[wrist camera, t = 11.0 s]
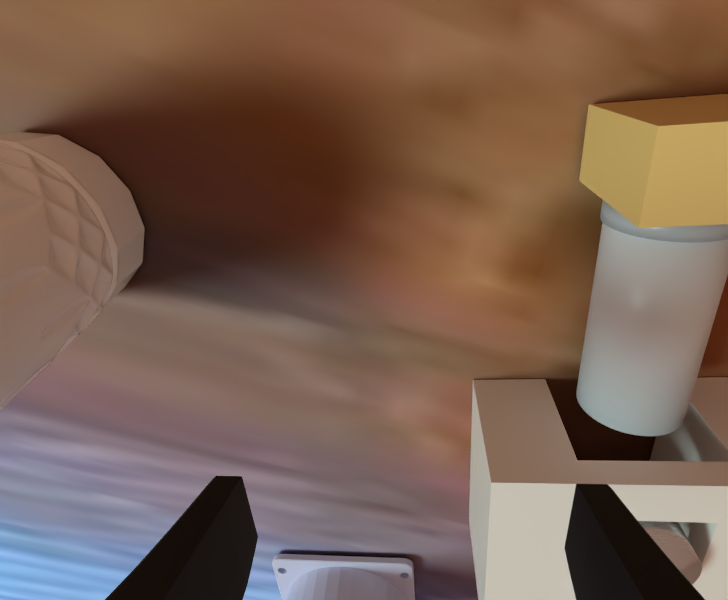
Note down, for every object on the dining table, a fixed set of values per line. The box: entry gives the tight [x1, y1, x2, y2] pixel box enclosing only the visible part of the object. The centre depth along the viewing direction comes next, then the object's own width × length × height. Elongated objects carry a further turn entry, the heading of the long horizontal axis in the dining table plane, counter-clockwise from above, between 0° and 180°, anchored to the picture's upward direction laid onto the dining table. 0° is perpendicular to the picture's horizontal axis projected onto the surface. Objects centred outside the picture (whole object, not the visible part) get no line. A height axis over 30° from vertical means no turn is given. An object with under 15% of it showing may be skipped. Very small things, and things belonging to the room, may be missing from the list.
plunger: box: [638, 521, 702, 584], centre depth 17 cm, size 3×3×2 cm
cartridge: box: [576, 94, 728, 436], centre depth 15 cm, size 10×4×5 cm, turn 5°
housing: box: [469, 377, 728, 600], centre depth 19 cm, size 9×11×6 cm
